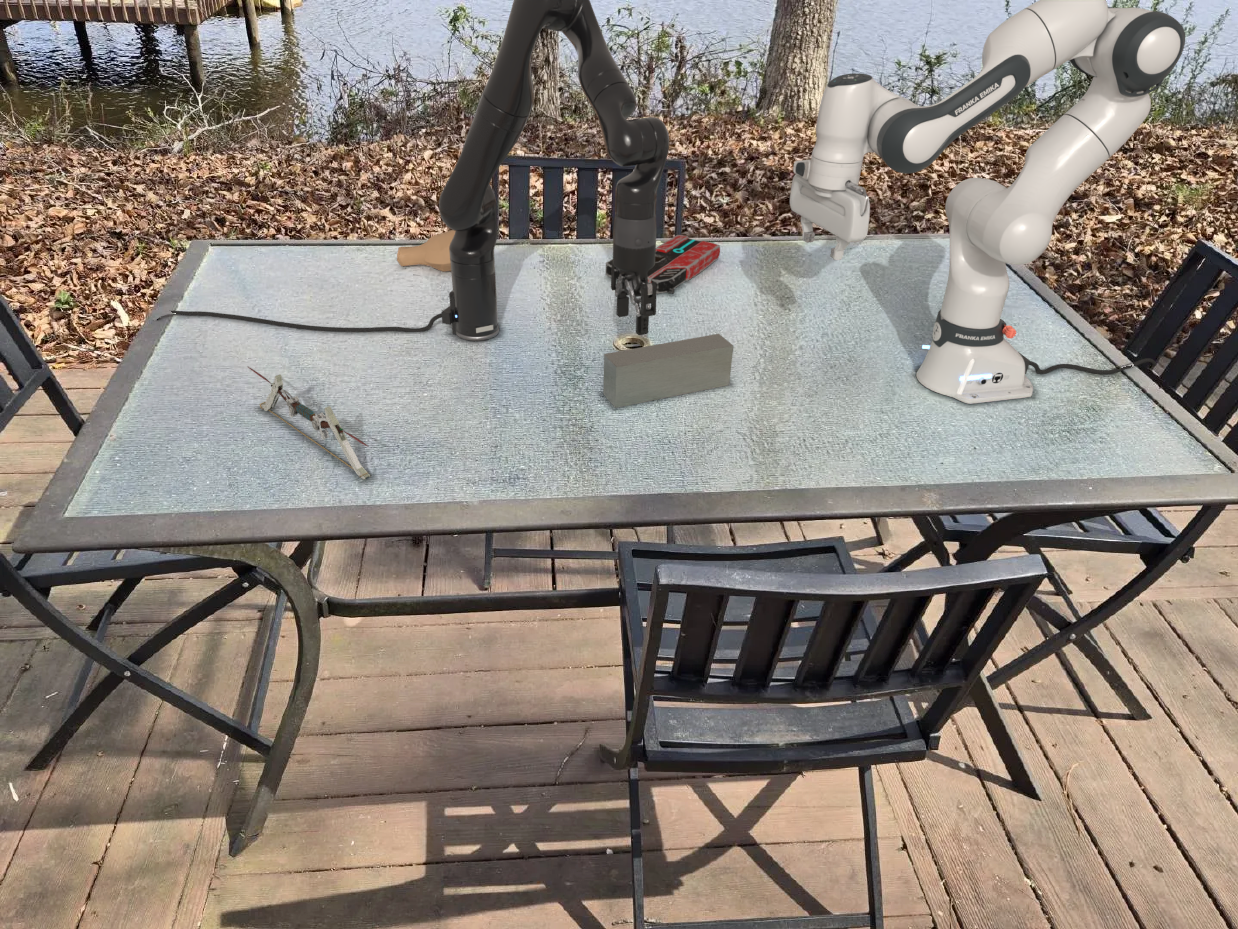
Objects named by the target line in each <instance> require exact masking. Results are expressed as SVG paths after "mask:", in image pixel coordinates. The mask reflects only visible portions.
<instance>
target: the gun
mask: <svg viewBox="0 0 1238 929" xmlns="http://www.w3.org/2000/svg"><path fill="white" fill-rule="evenodd" d="M720 254H721V245H720V244H717V243H715V242H710V241H707V240H702V241H701V240H698V239H693V238H689V236H688V235H683V234H676V235H675V236H673V237H671V238H670V239H668V240H666V241H665V242H662V244H659V245H657V246H656V253H655V265H654V267H653V268H651V269H650V270H649V271H648V272H647V277H648V282H649V283H654V282H655V283H656V295H658V294H663V293H668V294H671V295H674V294H675V289H676V288H678V287H680V285H682V284H683V283H684V282H689V281H690V280H691V279H693V278H695V277H696V276H698V275H699V274H700V273H701V272H703V271H705V269H707V268H708V267H709V266H710V265H712V264H713V263H714V262H716V261H717V260H719V257H720ZM612 260H613V258H612V259H610V260H608V261H606V262H605V276H607V277H609V278H611V272H612ZM616 281H618V279H616Z"/></svg>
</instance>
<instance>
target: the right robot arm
mask: <svg viewBox="0 0 1238 929" xmlns="http://www.w3.org/2000/svg"><path fill="white" fill-rule="evenodd" d="M1185 46H1186V32H1185V29H1184V27H1183V25H1182V24H1181V23H1180V22H1179V20H1177V19H1176V18H1175V17H1173V16H1171V14H1170V15H1169V14H1168V13H1166V12H1163V11H1156V10H1155V11H1153V10H1150V9H1145V8H1141V7H1134V6H1133V7H1113V6H1108V3H1107V0H1037V1H1036V2H1034V3H1032V4H1030V5H1028V6H1026V7H1024V9H1021V10H1020V11H1018V12H1017V13H1015V14H1013V15H1012V16H1010V17H1008V18H1007V19H1006V20H1004V21H1003V22H1002V23H1000V24H999V25H998V26H996V27H995V28H994V29H993V30H992V31H991V32H990V33H988V35H987V37H986V40H985V42H984V44H983V47H982V53H981V63H982V69H981V70H980V72H979V73H978V74H977V75H976V76H975V77H973V78H972V79H971V80H970V81H968V82H967V83H965V84H964V85H962V86H961V87H959V88H958V89H957V90H954V91H953V92H952V93H950V94H949V95H948V96H946V97H944V98H943V99H941V100H940V101H939V102H937V103H933V104H931V105H923V106H922V105H917V104H915V103H914V102H913V101H911V100H909V99H908V98H906V97H904V96H902V95H900V94H897V93H895V92H892V91H890V90H888V89H887V88H885V87H884V86H882V85H881V84H880V83H879V82H877V81H876V80H875V79H874V77H873V76H872V75H870V74H867V73H862V72H859V73H857V72H855V73H854V72H853V73H846V74H845V73H844V74H841V75H838V76H836V77H834V78H832V79H830V80H829V81H828V83H827V84H826V86H825V88H824V90H823V94H822V97H821V99H820V104H819V109H818V113H817V119H816V125H815V135H816V136H815V137H816V140H815V145H814V147H813V149H812V152H811V158H810V159H801V160H796V161H795V162H794V163H793V168H792V171H793V173H794V175H793V177H792V180H791V186H790V194H789V206H790V210H791V211H792V212H794V213H795V214H797V215H799V216H800V225H801V229H802V235H801V241H803V242H805V243H807V244H809V243H811V244H812V243H813V242H814V241H815V236H816V232H814V226H813V225H814V224H815V225H817V226H818V227H820V228H822V229H823V230H825V231H827V232H829V233H830V234H832V235H834V236H836V238H835V242H837V243H836V245H835V247H832V248H830V253H829V257H830V259H833V260H834V261H841V260H842V259H843V258H844V254H845V251H846V249H847V248H848V246H849V245H850V244H852V243H858V242H863V241H864V240H865V239H866V238H867V236H868V231H869V224H870V214H871V204H870V197H869V196H868V192H867V190H866V188H864V187H863V186H861V185H860V186H859V183H860V178H861V173H862V167H863V163H864V157H865V155H866V154H869V153H874V154H876V155H877V156H878V157H879V158H880V159H881V160H882V161H883V162H884V163H885V164H886V165H887V167H888V168H889V169H891V170H892V171H894V172H895V173H896V172H897V173H898V174H899V173H900V174H905V175H907V174H915V173H918V172H920V171H923V170H925V169H926V168H928V167H929V166H930V165H932V164H933V163H934V162H935V161H936V160H937V159H938V158H939V157H940V156H941V155H942V154H943V152H944V151H945V150H946V149H947V148H948V146H950V144H952V143H953V142H954V141H956V139H958V138H959V137H960V136H962V135H963V134H965V133H966V132H968V131H969V130H970V129H972V128H973V127H975V126H976V125H977V124H980V122H982V121H983V120H985V119H986V118H988V117H989V116H990V115H992V114H993V113H995V112H997V111H998V110H999V109H1001V108H1002V107H1003V106H1006V104H1008V103H1009V102H1011V101H1012V100H1013V99H1014V98H1016V97H1017V96H1018V95H1020V93H1021V92H1022V91H1023V90H1025V88H1026V87H1028V86H1029V85H1031V84H1032V83H1034V82H1035V81H1037V80H1039V79H1041V78H1042V77H1043V76H1045V75H1047V74H1049V73H1051V72H1052V71H1054V70H1056V69H1057V68H1059V67H1061V66H1062V65H1063V64H1065V63H1066V62H1069V63H1070V64H1071V65H1072V66H1073V67H1074V68H1075V69H1076V70H1077V71H1078V72H1080V73H1082V74H1084V75H1087V76H1092V80H1091V82H1090V85H1089V87H1088V89H1087V90H1086V92H1085V93H1084V94H1083V95H1082V97H1081V98H1080V100H1079V101H1078V102H1076V103H1075V104H1074V105H1073V106H1072V107H1071V108H1069V109H1068V110H1067V111H1066V112H1065V113H1064V114H1063V115H1061V116H1060V117H1059V118H1058V119H1057V120H1056V121H1055V122H1054V123H1053V124H1051V126H1050V127H1048V129H1047V130H1045V132H1043V134H1041V135H1040V136H1039V137H1038V138H1037V139H1036V140H1035V141H1034V142H1033V143H1032V144H1030V145H1029V147H1028V148H1027V150H1026V152H1025V156H1024V165H1023V167H1022V169H1021V171H1020V173H1019V174H1018V175H1017V177H1016V179H1015V180H1014V181H1013V183H1011V184H1010V186H1008V187H1007V186H1004V185H1003V184H1001V183H999V182H998V181H996V180H993V179H988V178H983V177H982V178H981V177H970V178H967V179H964V180H962V181H959V183H957V184H956V185H955V186H953V188H952V190H951V191H949V193H948V196H947V197H946V200H945V204H944V205H945V206H944V211H945V215H946V218H947V223H948V229H949V266H948V267H949V268H948V276H947V283H946V285H945V286H946V287H945V289H944V290H945V291H944V295H943V299H942V303H941V308H940V309H939V310H938V312H937V315H936V317H935V318H936V319H935V322H934V324H933V329H932V335H931V342H930V345H929V344H927V345H926V344H922V346H921V348H922V349H927V353H926V355H925V356H924V359H923V361H922V363H921V364H920V367H919V368H918V369H917V372H916V374H915V375H916V376H915V377H916V379H917V381H918V383H920V384H921V385H922V386H924V387H925V388H926V389H928V390H931V391H932V392H935V393H937V394H940V395H943V396H947V397H950V398H953V399H956V400H957V401H960V402H962V403H965V404H968V405H973V404H981V403H989V402H1000V401H1007V400H1017V399H1024V398H1025V399H1026V398H1031V397H1032V396H1033V393H1034V386H1033V384H1032V382H1031V381H1030V379H1029V378H1028V377H1027V376H1026V375H1027V372H1028V370H1029V366H1031V367H1032V368H1034V371H1035V373H1037V374H1039V375H1046V374H1049V373H1052V372H1054V371H1055V370H1059V369H1071V370H1076V371H1081V372H1085V373H1089V374H1093V375H1094V374H1095V375H1113V374H1117V373H1119V372H1122V371H1125V370H1128V369H1132V368H1133V367H1132V365H1131V366H1126V367H1123V368H1121V369H1117V368H1119V367H1120V366H1119V367H1116V368H1113V369H1097V368H1091V367H1086V366H1083V365H1078V364H1074V363H1073V364H1072V363H1059V364H1055V365H1052V366H1050V367H1048V368H1045V369H1041V368H1040V366H1039V364H1038V363H1036V362H1035V361H1033V360H1030V359H1029V358H1028V357H1026V356H1024V355H1023V354H1022V353H1021V352H1020V351H1018V350H1017V349H1016V348H1015V347H1014V346H1013V345H1012V344H1011V343H1010V342H1009V341H1008V340H1007V339H1014V337H1016V335H1017V330H1016V328H1014V327H1013V326H1012V325H1009V324H1008V325H1007V322H1006V321H1005V320H1003V319H1002V318H1001V317H1002V314H1003V311H1004V307H1005V303H1006V301H1007V297H1008V293H1009V290H1010V277H1009V273H1008V270H1007V264H1009V265H1012V266H1024V265H1027V264H1030V263H1032V262H1033V261H1036V260H1037V259H1038V258H1039V257H1040V256H1042V255H1043V254H1044V252H1045V251H1046V249H1047V248H1048V247H1049V244H1050V242H1051V239H1052V235H1053V225H1054V222H1055V219H1056V217H1057V216H1058V215H1059V214H1058V213H1059V212H1060V211H1061V209H1062V207H1063V206H1064V204H1066V202H1067V200H1068V199H1069V198H1070V197H1071V196H1072V194H1073V193H1074V192H1075V191H1076V190H1077V189H1078V188H1079V187H1080V186H1081V185H1083V183H1084V182H1085V181H1087V179H1088V178H1089V177H1090V176H1091V175H1092V174H1094V173H1095V172H1096V171H1097V170H1098V169H1099V168H1100V167H1101V166H1102V165H1103V164H1105V163H1106V162H1107V161H1108V160H1109V159H1110V158H1111V157H1112V156H1113V155H1114V154H1116V153H1117V151H1118V150H1120V149H1121V147H1122V146H1124V144H1125V143H1127V141H1128V140H1129V139H1130V138H1131V137H1132V136H1133V135H1134V133H1135V132H1136V131H1137V130H1138V129H1139V128H1140V127H1141V125H1142V124H1143V122H1145V120H1146V118H1147V117H1148V116H1149V113H1150V111H1151V108H1152V100H1151V97H1150V93H1152V92H1154V91H1155V90H1157V89H1159V88H1160V87H1161V85H1162V84H1163V82H1164V81H1165V78H1166V77H1167V76H1168V75H1169V74H1170V73H1171V72H1172V71H1173V69H1174V68H1175V67H1176V65H1177V64H1178V62H1179V61H1180V59H1181V56H1182V54H1183V52H1184V48H1185ZM1004 336H1005V337H1006V338H1007V339H1005V338H1004ZM1132 363H1133V364H1134V366H1135V367H1137V366H1140V365H1142V364H1146V363H1149V364H1150V366H1154V367H1155V366H1157V362H1156V360H1154V359H1153V358H1149V357H1148V358H1141V359H1138V360H1136V361H1133V362H1132ZM1131 367H1132V368H1131Z"/></svg>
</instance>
